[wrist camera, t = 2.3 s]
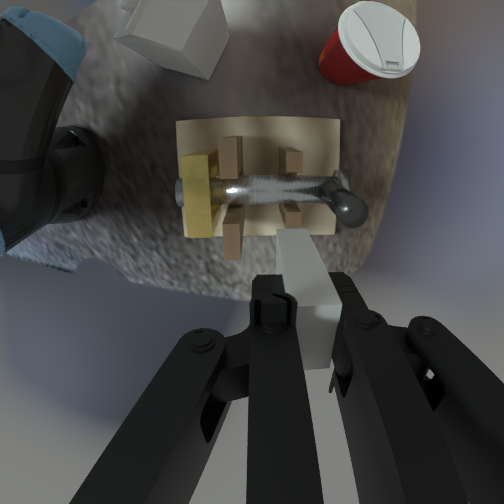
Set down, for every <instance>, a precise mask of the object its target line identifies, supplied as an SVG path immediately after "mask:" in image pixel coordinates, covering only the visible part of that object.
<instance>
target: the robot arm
mask: <svg viewBox="0 0 504 504" xmlns="http://www.w3.org/2000/svg"><path fill="white" fill-rule="evenodd" d="M0 18H1V20H0V257H1V256H3V255H4V253H6V252H7V251H8V250H10V249H11V248H13V247H14V246H15V245H17V244H18V243H20V242H21V241H22V240H24V239H25V238H27V237H28V236H30V235H31V234H33V233H34V232H36V231H37V230H39V229H40V228H42V227H43V226H45V225H47V224H56V223H69V222H72V221H75V220H77V219H79V218H80V217H82V216H84V215H85V214H87V213H88V212H89V211H90V210H91V209H92V208H93V207H94V205H95V204H96V202H97V201H98V199H99V196H100V194H101V191H102V187H103V180H104V167H103V161H102V157H101V153H100V151H99V148H98V146H97V144H96V143H95V141H94V140H93V139H92V137H91V136H90V135H89V134H88V133H86V132H85V131H83V130H82V129H80V128H77V127H72V126H67V127H58V128H55V127H56V124H57V121H58V119H59V116H60V113H61V111H62V108H63V106H64V103H65V101H66V99H67V96H68V94H69V92H70V89H71V87H72V85H73V84H74V83H75V81H76V75H77V72H78V70H79V68H80V65H81V63H82V61H83V59H84V57H85V54H86V50H87V44H86V41H85V39H84V38H83V37H82V36H81V35H80V34H79V33H78V32H77V31H75V30H74V29H73V28H71V27H69V26H68V25H66V24H64V23H62V22H60V21H58V20H56V19H54V18H52V17H50V16H47V15H45V14H42V13H40V12H37V11H30V10H28V9H25V8H22V7H15V6H14V7H10V8H8V9H7V10H6V11H5V12H4V13H2V14H1V17H0ZM249 305H250V325H249V326H248V328H247V329H245V330H244V331H243V332H241V333H239V334H236V335H233V336H229V337H224V336H223V335H222V334H221V333H219V332H218V331H216V330H213V329H207V328H206V329H205V328H200V329H195V330H192V331H190V332H188V333H186V334H184V335H183V336H182V337H181V339H180V340H179V341H178V343H177V344H176V346H175V347H174V349H173V350H172V351H171V353H170V354H169V356H168V357H167V359H166V360H165V362H164V363H163V364H162V366H161V367H160V369H159V370H158V372H157V373H156V375H155V376H154V378H153V379H152V381H151V382H150V384H149V385H148V386H147V388H146V389H145V391H144V392H143V394H142V395H141V397H140V398H139V400H138V401H137V403H136V404H135V406H134V407H133V408H132V410H131V411H130V413H129V415H128V416H127V417H126V419H125V420H124V422H123V424H122V425H121V427H120V428H119V429H118V431H117V432H116V434H115V435H114V437H113V438H112V440H111V441H110V443H109V444H108V446H107V447H106V449H105V450H104V452H103V453H102V455H101V456H100V458H99V459H98V461H97V462H96V464H95V465H94V467H93V468H92V470H91V471H90V473H89V474H88V476H87V477H86V479H85V481H84V482H83V483H82V485H81V486H80V488H79V489H78V491H77V492H76V494H75V495H74V497H73V499H72V500H71V502H70V503H69V504H189V502H190V499H191V497H192V495H193V493H194V491H195V488H196V486H197V484H198V481H199V479H200V477H201V475H202V472H203V470H204V468H205V465H206V463H207V461H208V458H209V456H210V453H211V451H212V449H213V446H214V444H215V442H216V439H217V437H218V434H219V432H220V430H221V427H222V425H223V422H224V420H225V417H226V415H227V413H228V410H229V408H230V405H231V401H233V400H237V399H241V398H244V397H248V396H249V402H248V447H247V451H248V452H247V491H246V504H324V502H323V494H322V486H321V478H320V471H319V464H318V457H317V450H316V443H315V437H314V430H313V423H312V417H311V411H310V405H309V398H308V393H307V386H306V380H305V374H304V370H309V369H323V368H329V367H330V363H331V359H333V363H334V366H335V367H334V371H333V375H332V378H331V382H330V386H329V393H332V390H333V387H335V391H336V395H337V400H338V404H339V407H340V412H341V416H342V421H343V425H344V429H345V434H346V438H347V443H348V448H349V452H350V457H351V462H352V467H353V471H354V476H355V482H356V487H357V492H358V498H359V503H360V504H504V384H503V382H502V381H501V380H500V379H499V378H498V377H497V376H496V375H495V374H494V373H493V372H492V371H491V370H490V369H489V368H488V367H487V366H486V365H485V364H484V363H483V362H482V361H481V360H480V359H479V358H478V357H477V356H476V355H474V353H472V352H471V350H469V349H468V348H467V347H466V346H465V345H464V344H463V343H462V342H461V341H460V340H459V339H458V338H457V337H456V336H454V335H453V334H452V333H451V332H450V331H449V330H448V329H447V328H446V327H445V326H444V325H442V324H441V323H440V322H439V321H437V320H435V319H433V318H431V317H427V316H418V317H415V318H413V319H412V320H411V321H410V323H409V326H408V328H406V327H397V326H391V325H388V324H387V322H386V321H385V319H384V318H383V317H382V316H381V315H380V314H378V313H377V312H375V311H372V310H369V309H368V307H367V306H366V304H365V302H364V300H363V298H362V297H361V295H360V293H359V292H358V290H357V288H356V286H355V284H354V283H353V281H352V279H351V278H350V277H349V276H347V275H346V274H345V273H343V272H327V270H326V268H325V265H324V263H323V261H322V259H321V257H320V255H319V253H318V251H317V249H316V247H315V245H314V243H313V241H312V238H311V236H310V234H309V232H308V230H307V229H277V232H276V275H257V276H256V277H255V278H254V280H253V281H252V298H251V301H250V304H249ZM429 369H430V370H431V371H432V372H433V373H434V376H433V378H432V379H429V378H428V377H427V376H426V374H427V372H428V370H429ZM468 502H469V503H468Z"/></svg>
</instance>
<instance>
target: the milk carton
mask: <svg viewBox="0 0 504 504" xmlns="http://www.w3.org/2000/svg"><path fill="white" fill-rule="evenodd" d="M120 7H121V8H122V9H125V10H127V11H126V13H125V15H124V17H123V19H122V20H121V22H120V24H119V26H118V28H117V30H116V32H115V34H114V36H113V39H115V40H116V41H118V42H120V43H122V44H124V45H125V46H127V47H129V48H131V49H132V50H134V51H136V52H138V53H139V54H141V55H143V56H144V57H146V58H148V59H149V60H151V61H153V62H154V63H156V64H157V65H159V66H161V67H163V68H167V69H171V70H175V71H179V72H182V73H186V74H189V75H193V76H196V77H199V78H203V79H206V80H209V79H210V77H211V75H212V73H213V71H214V69H215V67H216V65H217V63H218V61H219V59H220V57H221V55H222V53H223V51H224V49H225V47H226V45H227V43H228V41H229V39H230V34H229V30H228V26H227V22H226V19H225V15H224V11H223V8H222V4H221V0H123V1H122V3H121V6H120Z"/></svg>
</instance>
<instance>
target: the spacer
mask: <svg viewBox="0 0 504 504" xmlns="http://www.w3.org/2000/svg"><path fill="white" fill-rule="evenodd" d="M181 168H182V182H183V194H184V206H185V217H186V227H187V236H188V238H213V235H214V233H215V230H216V227H217V225H218V222H219V219H220V217H221V205H213V200H212V182H211V176H220V175H219V151H218V149H215V150H198V151H195V152H192V153H189V154H187V155H184V156H181Z"/></svg>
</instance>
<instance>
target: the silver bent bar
mask: <svg viewBox="0 0 504 504" xmlns="http://www.w3.org/2000/svg"><path fill="white" fill-rule="evenodd" d="M211 182H212V200H213V205H239V204H326V205H327V206H328V207H329V208H330V209H331V211H332V212H333V213H334V214H335V215H336V216H337V217H338V218H339V219H340V221H341V222H342V223H343V224H344V225H345V226H347V227H350V228H356V227H359V226H361V225H362V224H363V223H364V222H365V221H366V219H367V217H368V207H367V205H366V203H365V202H364V201H363V200H361V199H360V198H359V197H357V196H356V195H354V194H353V193H351V192H350V187H349V179H348V175H347V173H346V171H345V170H337V169H336V170H334V172H333V174H332V176H321V175H239V176H238V179H220V176H211ZM175 197H176V202H177V205H178V206H179V207H183V206H184V194H183V182H182V178H178V179H177V181H176V185H175Z"/></svg>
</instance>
